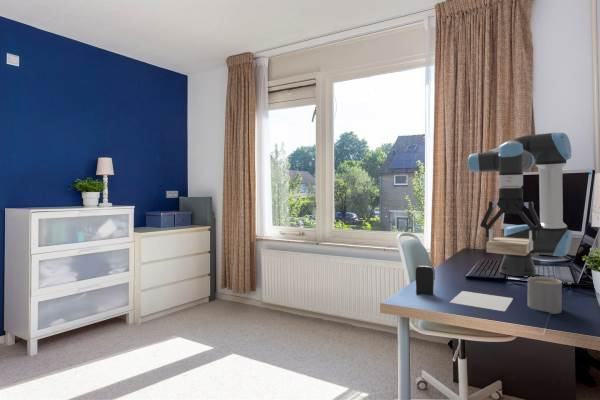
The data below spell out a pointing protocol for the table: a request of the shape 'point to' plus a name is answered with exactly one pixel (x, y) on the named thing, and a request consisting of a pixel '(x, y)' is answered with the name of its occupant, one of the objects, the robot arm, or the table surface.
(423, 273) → the battery
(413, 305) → the table surface
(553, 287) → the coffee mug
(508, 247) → the board
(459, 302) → the grey mat
